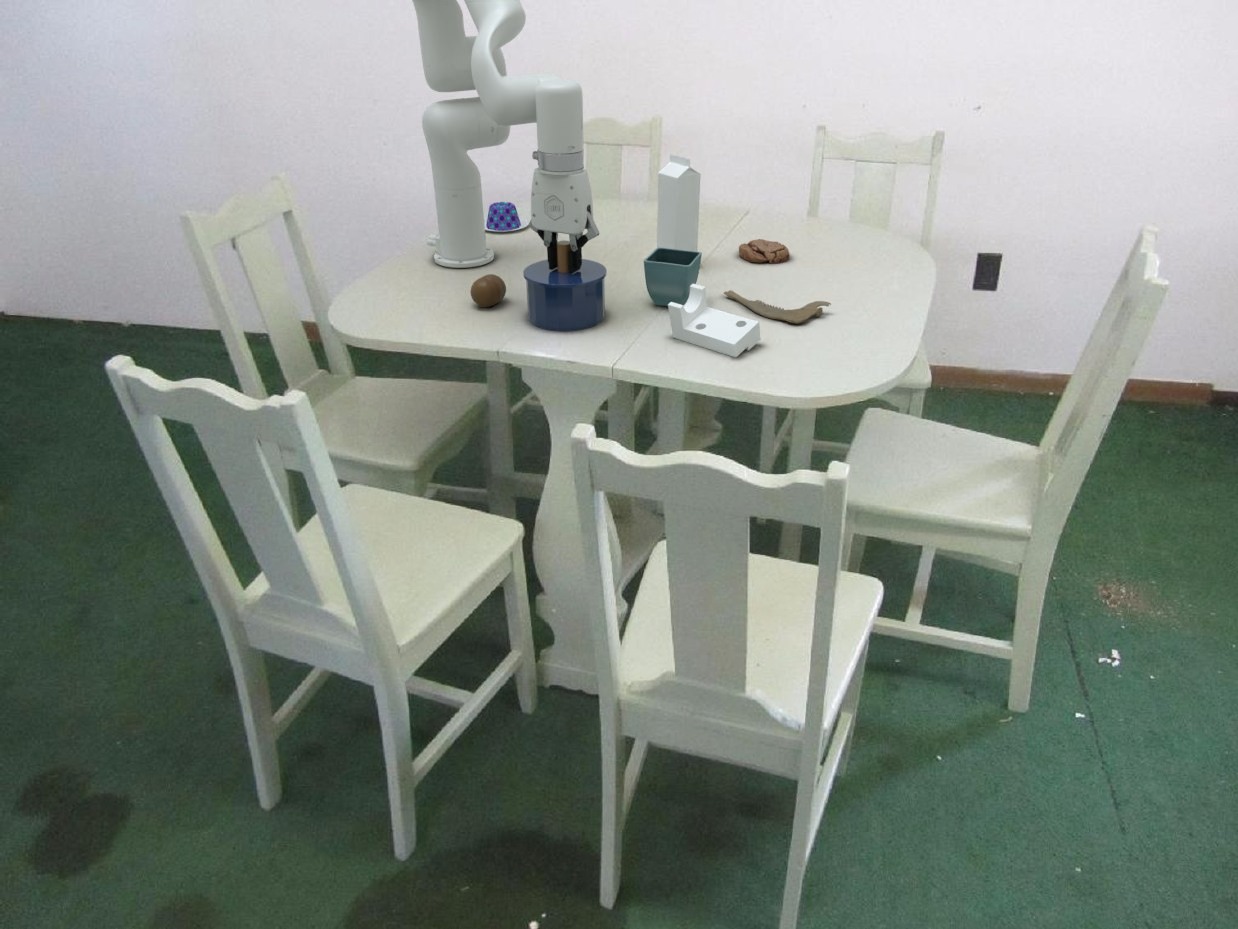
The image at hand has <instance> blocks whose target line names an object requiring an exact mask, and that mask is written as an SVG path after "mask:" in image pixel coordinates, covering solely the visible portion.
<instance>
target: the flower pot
mask: <svg viewBox="0 0 1238 929" xmlns="http://www.w3.org/2000/svg"><path fill="white" fill-rule="evenodd" d="M702 254H703V252H702V251H697V252H696V251H687V250H678V249H669V248H657V247H656V248H655V249H654V250H653V251H652V252H651V253H650V254H648V256H647V257H646V258H644V260H643V268H644V269H643V270H644V280H645V286H646V289H647V293H648V295H649V297H650V299H651V301H652V302H653V305H656V306H662V307H668V304H669V303H670V302H674V303H677V304H681V305H685V304H686V302H687V300H688V298H689V294H690V286H691V285H692V284H697V283H698V282H697V281H698V278H699V274H700V268H701V261H702V256H703V255H702Z"/></svg>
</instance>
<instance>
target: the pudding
mask: <svg viewBox="0 0 1238 929" xmlns="http://www.w3.org/2000/svg"><path fill="white" fill-rule="evenodd" d="M529 223H530V221H529V220H527V219H525V218H522V217H519V214H518V211H517V207H516V205H515V204H514V203H512V202H509V201H499V202H493V203H491V204H489V206H488V212H487V218H485V219H484V226H485V231H489V232H496V233H507V232H513V231H514V232H515V231H518V230H521V229H524V228H527V227H529Z"/></svg>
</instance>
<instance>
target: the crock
mask: <svg viewBox="0 0 1238 929" xmlns="http://www.w3.org/2000/svg"><path fill="white" fill-rule="evenodd" d="M525 287H526V303H527V317H528V320H529V323H531V324H532V325H533V326H535V327H537V328H539V329H542V330H547V331H554V332H576V331H582V330H588V329H591V328H594V327H596V326H599V325H600V324H601V323H602V322H603V321H604V319H605V314H606V300H605V299H606V298H605V297H606V291H605V290H606V288H605V278H604V279H603V280H601V281H599V282H597V283H594V284H591V285H587V286H582V287H574V288H551V287H544V286H539V285H535V284H533V283H530V282H528V281H527V280H526V279H525Z"/></svg>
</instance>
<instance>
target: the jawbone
mask: <svg viewBox="0 0 1238 929" xmlns="http://www.w3.org/2000/svg"><path fill="white" fill-rule="evenodd" d="M723 294H724V295H725V296H726V297H729V298H730V299H732V300H733V301H738V302H739V303H740V304H741V305H743V306H745V307H746V308H748V309H749V310H751V311H752V312H754V313H756V314H758V315H760V316H762V317H764V318H767V319H772V320H779V321H784V322H788V323H790V324H800V323H804V322H806V321H807V320H808V319H809V318H810V317H812V316H815V317H817V318H820V317H821V316H822V315H823V312H824V311H823V310H824V309H823V307H829V306H832V303H831V302H829V301H825V300H816V301H812V302H810V303H807V304H806V305H804V306H802V307H800V308H794V309H785V308H784V307H783V308H782V307H781V306H775V305H772V304H769V303H766V302H765V301H762V300H760V299H756V300H749V299H747V298H744V297H743V296H742V295H739V294H738V293H736V292H735V291H734V290H730V289H729V290H728V291H724V292H723Z"/></svg>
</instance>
